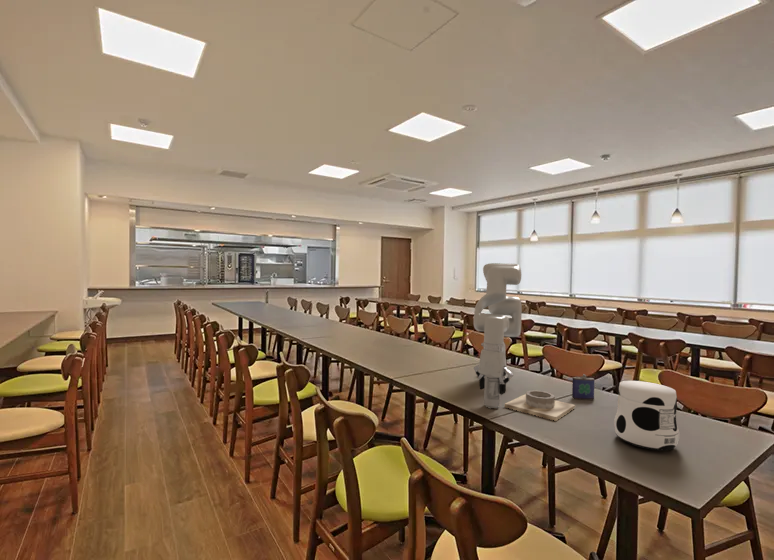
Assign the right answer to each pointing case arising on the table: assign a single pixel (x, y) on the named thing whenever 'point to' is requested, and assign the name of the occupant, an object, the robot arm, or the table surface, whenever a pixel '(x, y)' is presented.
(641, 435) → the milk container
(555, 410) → the collar board
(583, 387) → the flask
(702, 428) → the table surface
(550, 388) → the table surface
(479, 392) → the table surface
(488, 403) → the energy drink can
